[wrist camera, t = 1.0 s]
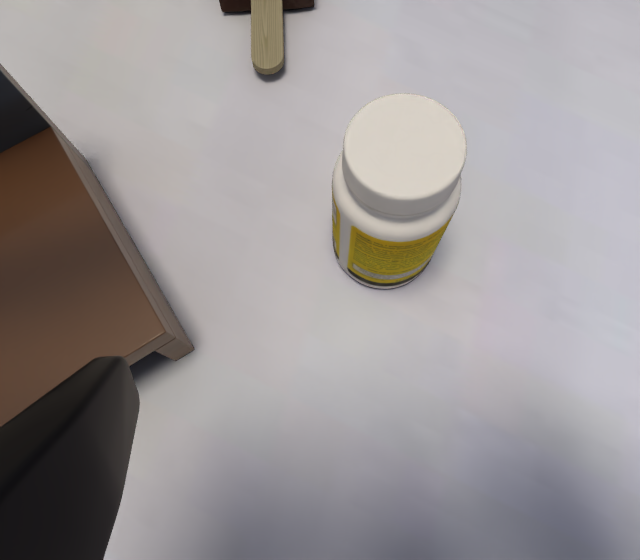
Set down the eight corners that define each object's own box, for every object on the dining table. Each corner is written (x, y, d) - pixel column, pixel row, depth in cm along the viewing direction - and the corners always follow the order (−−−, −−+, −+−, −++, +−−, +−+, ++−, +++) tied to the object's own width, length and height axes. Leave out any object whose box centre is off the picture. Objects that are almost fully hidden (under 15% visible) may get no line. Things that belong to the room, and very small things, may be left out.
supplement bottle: (451, 256, 23) (512, 161, 15) (370, 310, 23) (390, 240, 15) (391, 182, 25) (419, 59, 17) (313, 230, 24) (303, 127, 16)
